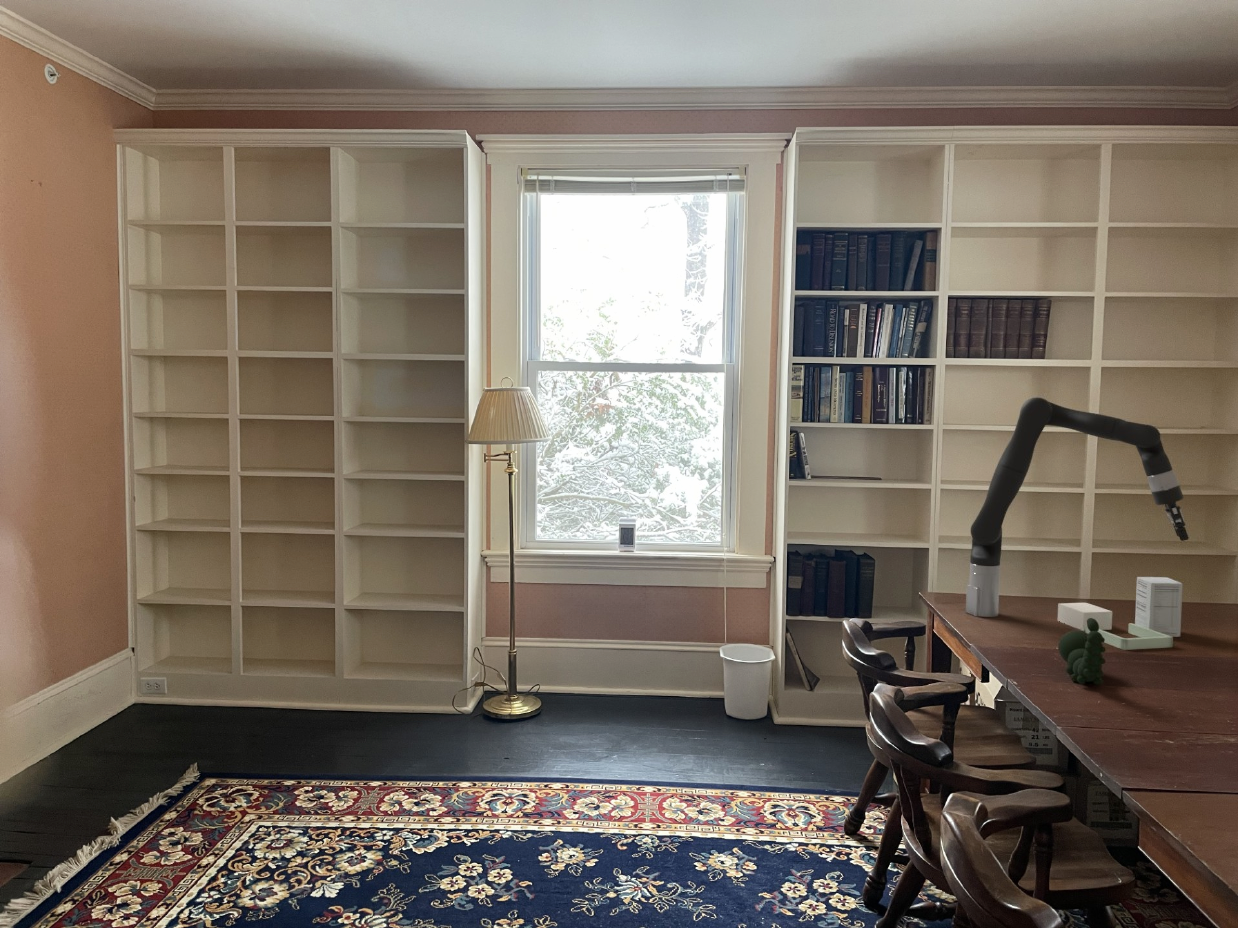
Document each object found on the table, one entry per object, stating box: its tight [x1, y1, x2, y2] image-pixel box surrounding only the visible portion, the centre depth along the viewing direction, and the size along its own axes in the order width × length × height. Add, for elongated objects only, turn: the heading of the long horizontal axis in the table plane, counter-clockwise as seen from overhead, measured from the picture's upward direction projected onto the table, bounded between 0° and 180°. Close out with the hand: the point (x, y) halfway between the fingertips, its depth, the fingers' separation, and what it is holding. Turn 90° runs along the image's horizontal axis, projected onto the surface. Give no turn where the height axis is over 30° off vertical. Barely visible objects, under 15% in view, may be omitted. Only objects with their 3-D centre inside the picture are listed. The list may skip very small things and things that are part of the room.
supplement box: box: [1134, 576, 1183, 638], centre depth 265 cm, size 10×9×17 cm
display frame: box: [1084, 623, 1174, 651], centre depth 257 cm, size 16×16×3 cm
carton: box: [1057, 602, 1113, 632], centre depth 275 cm, size 10×12×6 cm
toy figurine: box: [1057, 618, 1107, 686], centre depth 222 cm, size 9×19×25 cm
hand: (1183, 537), depth 260 cm, fingers open, 8 cm apart
